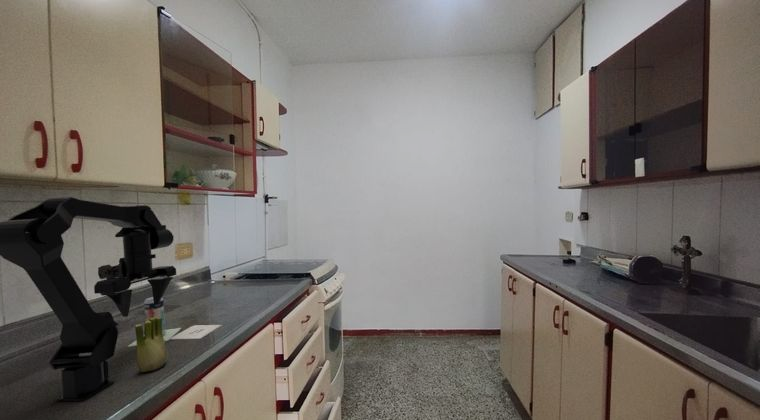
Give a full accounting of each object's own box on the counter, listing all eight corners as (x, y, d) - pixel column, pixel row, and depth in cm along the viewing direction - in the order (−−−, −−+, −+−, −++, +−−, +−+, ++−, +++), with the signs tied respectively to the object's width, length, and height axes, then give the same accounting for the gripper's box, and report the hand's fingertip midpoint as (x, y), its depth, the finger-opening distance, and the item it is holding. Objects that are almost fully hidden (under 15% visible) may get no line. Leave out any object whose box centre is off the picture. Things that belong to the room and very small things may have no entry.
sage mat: (167, 341, 87) (167, 340, 87) (128, 347, 85) (127, 346, 85) (181, 328, 97) (181, 327, 97) (146, 333, 94) (146, 332, 94)
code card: (199, 338, 87) (199, 338, 87) (169, 339, 88) (169, 338, 88) (221, 325, 97) (221, 324, 97) (193, 326, 98) (193, 325, 98)
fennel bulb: (138, 377, 68) (134, 325, 67) (136, 370, 71) (133, 320, 71) (169, 367, 71) (165, 318, 71) (165, 360, 75) (162, 313, 75)
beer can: (145, 337, 91) (142, 298, 91) (164, 331, 94) (161, 294, 94) (147, 341, 87) (144, 301, 87) (167, 335, 91) (164, 297, 91)
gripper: (142, 248, 89) (145, 299, 89) (71, 260, 71) (76, 324, 71) (176, 246, 88) (179, 298, 88) (113, 258, 69) (117, 323, 70)
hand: (141, 310), depth 79 cm, fingers open, 9 cm apart
